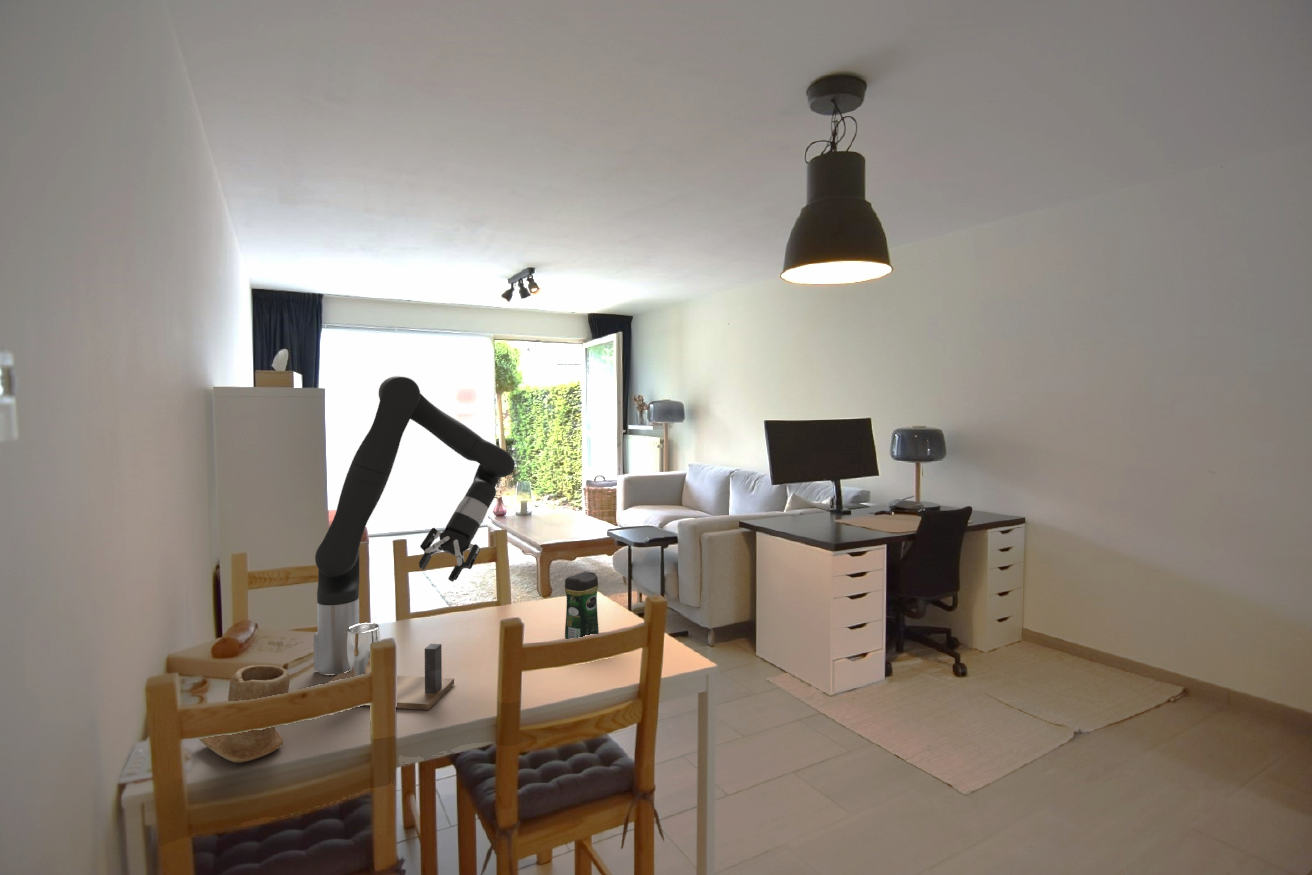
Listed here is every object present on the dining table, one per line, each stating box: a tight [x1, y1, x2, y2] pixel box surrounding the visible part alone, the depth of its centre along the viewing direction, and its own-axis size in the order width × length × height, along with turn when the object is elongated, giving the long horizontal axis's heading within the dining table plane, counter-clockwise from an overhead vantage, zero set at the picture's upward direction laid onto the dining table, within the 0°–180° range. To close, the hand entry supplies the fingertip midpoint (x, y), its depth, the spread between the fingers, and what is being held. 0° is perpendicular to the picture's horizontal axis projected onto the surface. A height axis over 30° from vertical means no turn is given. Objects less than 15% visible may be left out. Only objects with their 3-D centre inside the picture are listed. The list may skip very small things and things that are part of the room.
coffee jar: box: [564, 570, 600, 640], centre depth 178 cm, size 10×8×19 cm
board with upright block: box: [327, 643, 455, 711], centre depth 142 cm, size 28×13×11 cm, turn 84°
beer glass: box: [347, 622, 381, 677], centre depth 142 cm, size 7×7×15 cm
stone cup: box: [198, 664, 291, 764], centre depth 119 cm, size 15×12×15 cm
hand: (435, 574), depth 158 cm, fingers open, 8 cm apart
